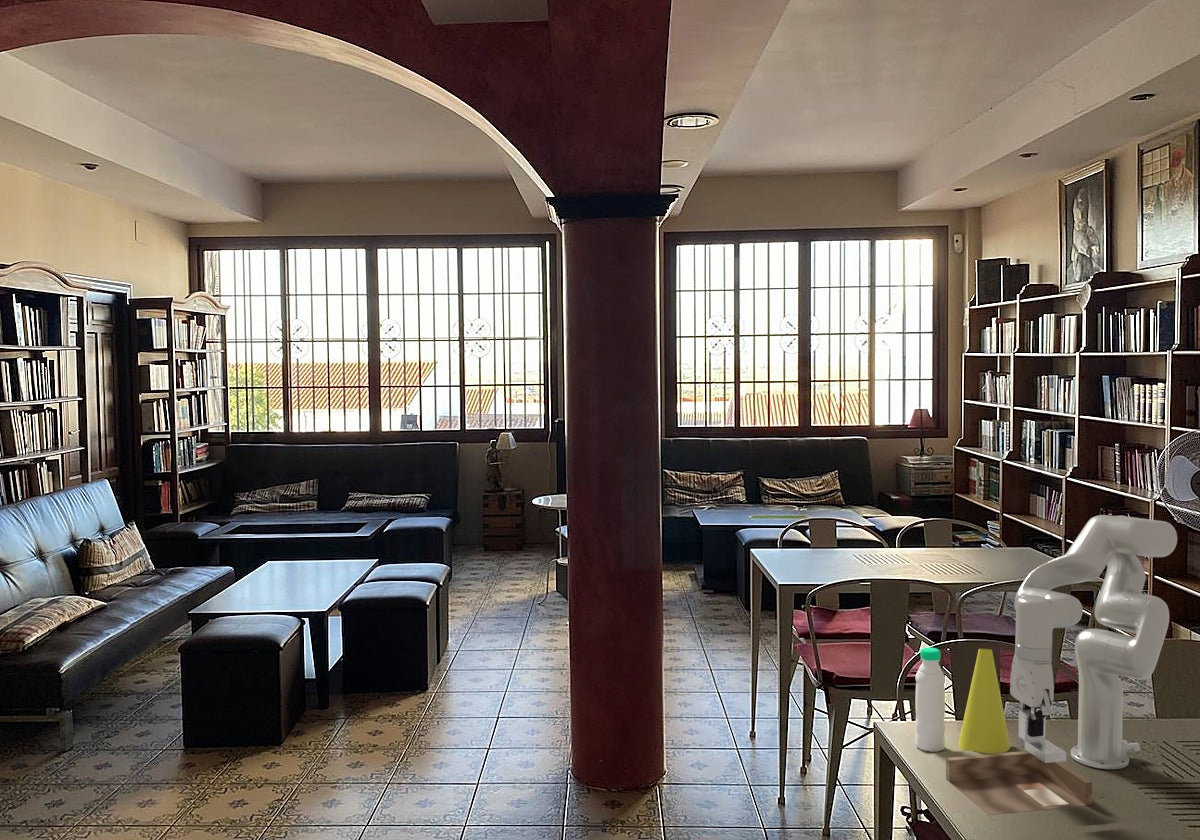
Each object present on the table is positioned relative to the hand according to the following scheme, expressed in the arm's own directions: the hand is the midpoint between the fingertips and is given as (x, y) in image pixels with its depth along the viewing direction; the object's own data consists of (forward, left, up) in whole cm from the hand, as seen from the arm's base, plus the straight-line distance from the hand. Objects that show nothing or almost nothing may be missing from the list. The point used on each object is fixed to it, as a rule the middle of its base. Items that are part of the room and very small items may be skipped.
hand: (1031, 732), depth 223 cm
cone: (-3, -25, -14) cm, 29 cm away
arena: (+4, +1, -14) cm, 14 cm away
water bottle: (+10, -28, -14) cm, 33 cm away
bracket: (0, +4, -3) cm, 5 cm away
